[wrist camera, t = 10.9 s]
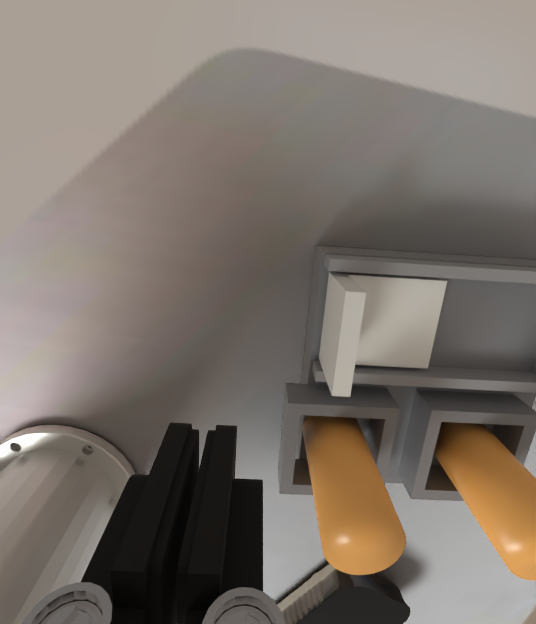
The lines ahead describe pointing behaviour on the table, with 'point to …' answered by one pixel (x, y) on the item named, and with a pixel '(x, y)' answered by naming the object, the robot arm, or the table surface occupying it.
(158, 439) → the table surface
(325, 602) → the black sponge
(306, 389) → the housing
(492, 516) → the peg
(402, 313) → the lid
